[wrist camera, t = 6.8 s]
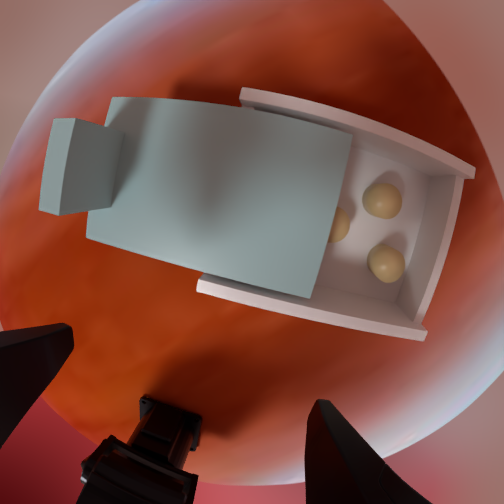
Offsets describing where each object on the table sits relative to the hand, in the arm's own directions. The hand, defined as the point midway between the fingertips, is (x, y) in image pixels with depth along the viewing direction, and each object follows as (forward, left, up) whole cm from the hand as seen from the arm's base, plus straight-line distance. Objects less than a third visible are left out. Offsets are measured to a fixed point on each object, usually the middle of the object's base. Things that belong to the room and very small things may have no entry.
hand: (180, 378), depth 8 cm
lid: (+6, +2, -8) cm, 10 cm away
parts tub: (+6, -6, -12) cm, 14 cm away
